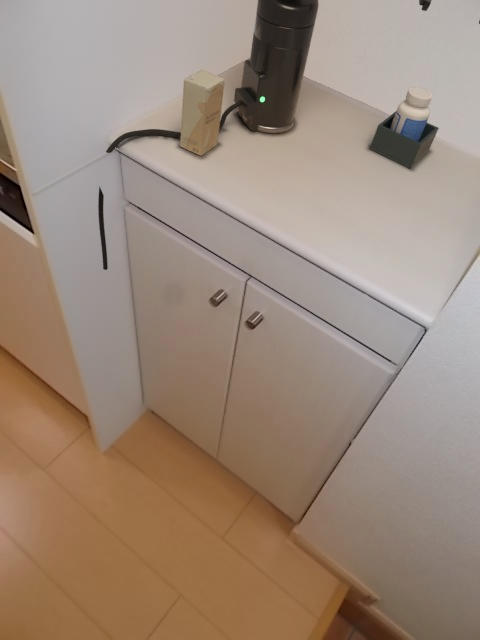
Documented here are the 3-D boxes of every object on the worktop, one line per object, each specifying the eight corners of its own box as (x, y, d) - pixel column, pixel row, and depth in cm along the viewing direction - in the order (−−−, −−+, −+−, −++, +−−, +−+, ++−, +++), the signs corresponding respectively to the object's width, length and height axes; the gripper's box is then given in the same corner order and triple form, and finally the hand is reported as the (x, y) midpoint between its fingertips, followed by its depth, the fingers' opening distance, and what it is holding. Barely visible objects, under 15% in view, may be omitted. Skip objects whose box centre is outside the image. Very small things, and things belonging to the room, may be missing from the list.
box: (200, 157, 84) (206, 89, 75) (178, 146, 85) (181, 79, 76) (218, 143, 87) (226, 77, 78) (197, 133, 88) (202, 67, 80)
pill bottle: (420, 149, 93) (443, 96, 86) (403, 158, 90) (426, 104, 83) (396, 134, 95) (416, 82, 88) (378, 143, 92) (398, 89, 85)
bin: (410, 168, 89) (420, 144, 86) (369, 149, 92) (378, 124, 88) (428, 151, 94) (439, 127, 91) (389, 132, 96) (398, 109, 93)
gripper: (446, -135, 70) (413, -11, 71) (550, -111, 70) (516, 13, 71) (428, -95, 78) (399, 16, 79) (522, -73, 77) (491, 38, 79)
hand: (454, 15), depth 75 cm, fingers open, 8 cm apart
